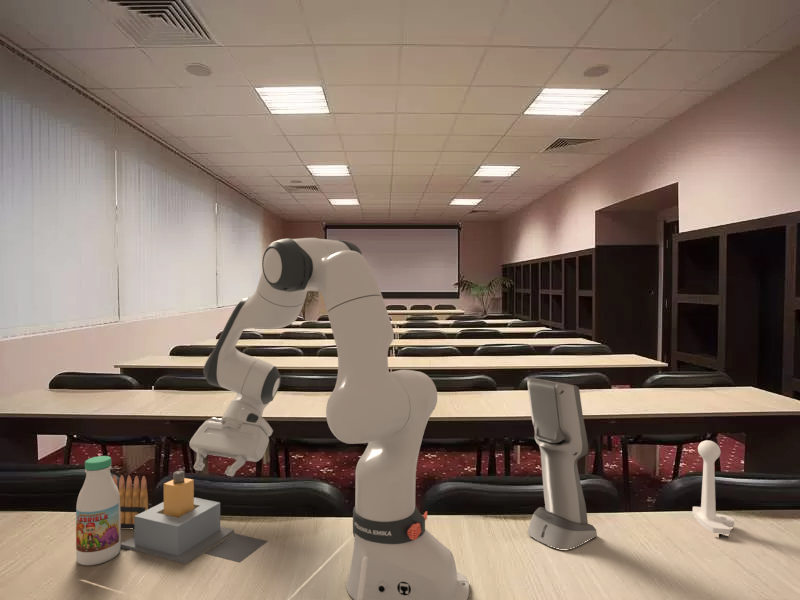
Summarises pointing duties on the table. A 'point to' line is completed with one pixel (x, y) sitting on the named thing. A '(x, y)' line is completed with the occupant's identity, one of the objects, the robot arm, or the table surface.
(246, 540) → the mat
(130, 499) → the ammunition clip
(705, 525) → the joystick
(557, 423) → the thermal camera
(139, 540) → the housing
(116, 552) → the milk bottle
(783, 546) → the table surface
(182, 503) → the plug
